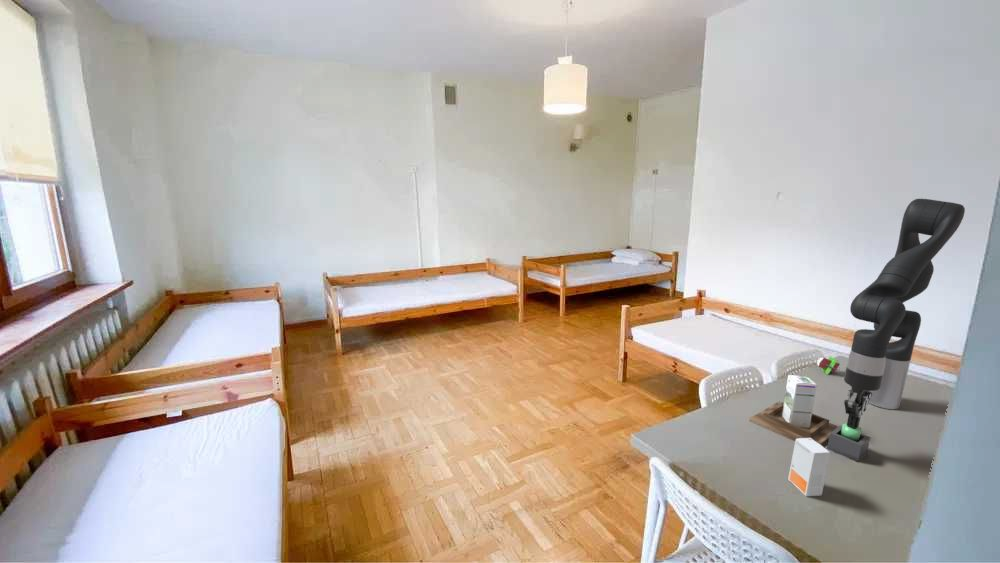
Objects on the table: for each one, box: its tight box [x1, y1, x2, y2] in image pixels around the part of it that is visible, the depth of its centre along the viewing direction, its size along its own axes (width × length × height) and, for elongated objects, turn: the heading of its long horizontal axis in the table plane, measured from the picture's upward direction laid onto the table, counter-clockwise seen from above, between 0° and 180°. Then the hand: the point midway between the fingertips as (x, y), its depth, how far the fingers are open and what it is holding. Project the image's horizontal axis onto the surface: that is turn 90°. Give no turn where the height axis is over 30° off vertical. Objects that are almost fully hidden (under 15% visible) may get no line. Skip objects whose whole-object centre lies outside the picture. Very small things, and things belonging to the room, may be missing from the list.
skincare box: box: [787, 438, 831, 497], centre depth 102 cm, size 6×4×12 cm
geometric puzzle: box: [816, 355, 841, 376], centre depth 167 cm, size 7×7×8 cm
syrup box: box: [782, 374, 818, 428], centre depth 129 cm, size 6×6×14 cm
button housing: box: [826, 425, 872, 463], centre depth 118 cm, size 7×7×5 cm
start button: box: [841, 422, 862, 441], centre depth 117 cm, size 4×4×3 cm
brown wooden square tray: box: [749, 401, 840, 446], centre depth 131 cm, size 18×18×3 cm
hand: (852, 426), depth 117 cm, fingers closed
